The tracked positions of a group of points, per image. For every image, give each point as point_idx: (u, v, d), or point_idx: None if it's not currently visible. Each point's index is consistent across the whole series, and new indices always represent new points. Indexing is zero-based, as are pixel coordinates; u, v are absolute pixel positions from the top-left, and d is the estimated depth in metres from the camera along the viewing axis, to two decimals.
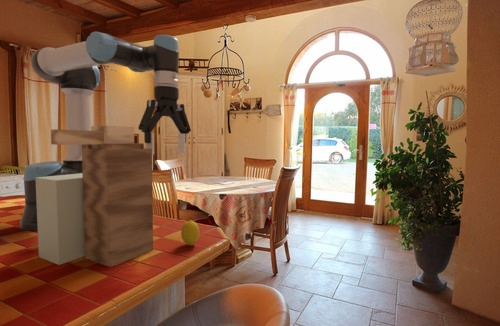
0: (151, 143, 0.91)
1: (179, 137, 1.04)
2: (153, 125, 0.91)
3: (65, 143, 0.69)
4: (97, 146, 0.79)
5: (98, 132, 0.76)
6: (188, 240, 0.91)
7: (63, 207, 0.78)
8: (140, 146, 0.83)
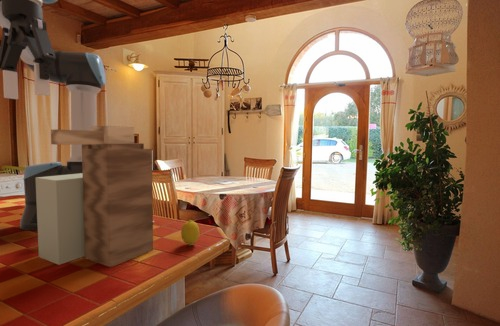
0: None
1: None
2: (4, 60, 0.72)
3: (65, 143, 0.69)
4: (97, 146, 0.79)
5: (98, 132, 0.76)
6: (188, 240, 0.91)
7: (63, 207, 0.78)
8: (140, 146, 0.83)
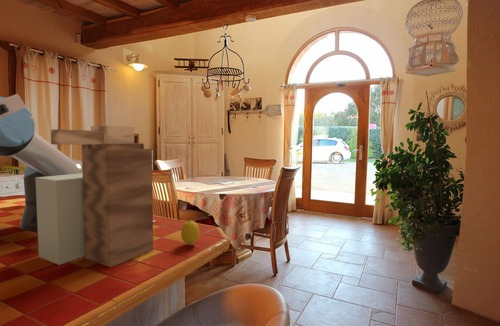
0: None
1: None
2: None
3: (65, 143, 0.69)
4: (97, 146, 0.79)
5: (98, 132, 0.76)
6: (188, 240, 0.91)
7: (63, 207, 0.78)
8: (140, 146, 0.83)
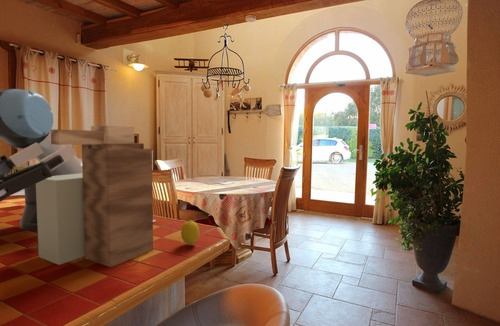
0: None
1: None
2: None
3: (65, 143, 0.69)
4: (97, 146, 0.79)
5: (98, 132, 0.76)
6: (188, 240, 0.91)
7: (63, 207, 0.78)
8: (140, 146, 0.83)
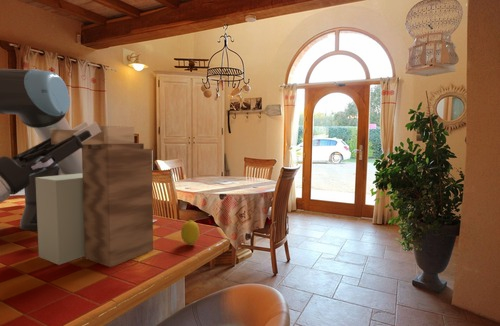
0: None
1: None
2: None
3: None
4: (97, 146, 0.79)
5: None
6: (188, 240, 0.91)
7: (63, 207, 0.78)
8: (140, 146, 0.83)
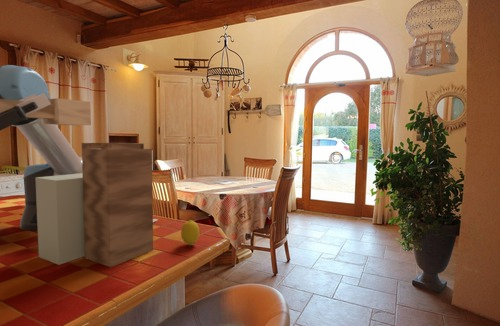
0: None
1: None
2: None
3: None
4: (48, 121, 0.74)
5: None
6: (188, 240, 0.91)
7: (63, 207, 0.78)
8: (140, 146, 0.83)
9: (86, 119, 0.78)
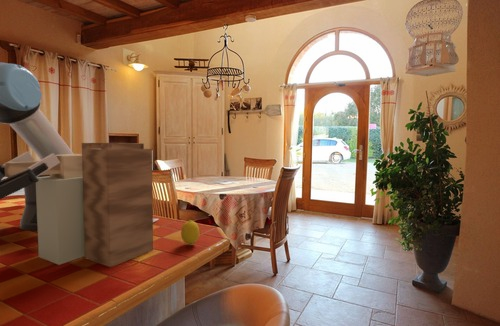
0: None
1: None
2: None
3: None
4: (54, 175, 0.82)
5: None
6: (188, 240, 0.91)
7: (63, 207, 0.78)
8: (140, 146, 0.83)
9: None
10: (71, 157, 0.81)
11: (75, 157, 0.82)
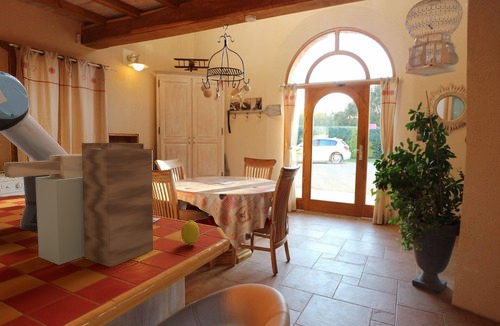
0: None
1: None
2: None
3: (18, 176, 0.72)
4: (54, 175, 0.82)
5: (54, 162, 0.79)
6: (188, 240, 0.91)
7: (63, 207, 0.78)
8: (140, 146, 0.83)
9: None
10: (71, 157, 0.81)
11: (75, 157, 0.82)
